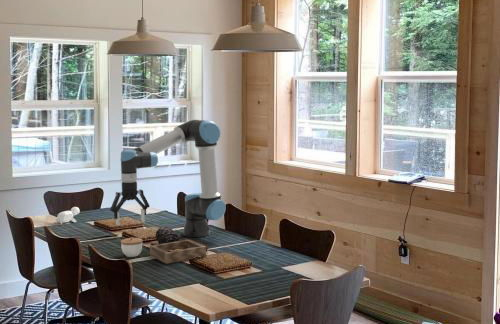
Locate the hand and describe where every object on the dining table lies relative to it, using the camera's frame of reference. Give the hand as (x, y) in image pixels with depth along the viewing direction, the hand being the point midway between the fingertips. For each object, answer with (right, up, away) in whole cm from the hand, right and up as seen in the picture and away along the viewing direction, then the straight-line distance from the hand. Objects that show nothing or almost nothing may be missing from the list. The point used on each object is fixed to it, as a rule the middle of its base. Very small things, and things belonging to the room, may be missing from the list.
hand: (130, 223), depth 363 cm
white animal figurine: (-51, -6, +82) cm, 96 cm away
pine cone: (+17, -14, +20) cm, 30 cm away
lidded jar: (0, -16, +2) cm, 17 cm away
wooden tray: (+24, -16, 0) cm, 29 cm away
